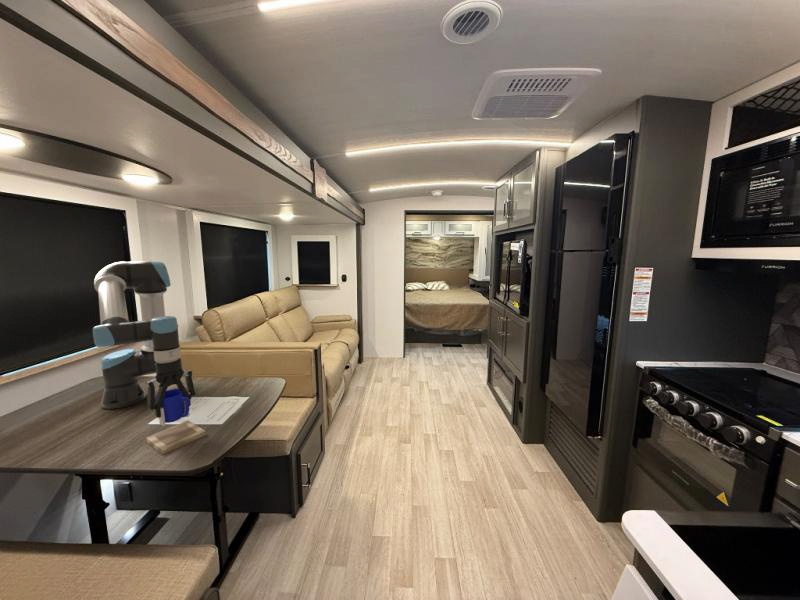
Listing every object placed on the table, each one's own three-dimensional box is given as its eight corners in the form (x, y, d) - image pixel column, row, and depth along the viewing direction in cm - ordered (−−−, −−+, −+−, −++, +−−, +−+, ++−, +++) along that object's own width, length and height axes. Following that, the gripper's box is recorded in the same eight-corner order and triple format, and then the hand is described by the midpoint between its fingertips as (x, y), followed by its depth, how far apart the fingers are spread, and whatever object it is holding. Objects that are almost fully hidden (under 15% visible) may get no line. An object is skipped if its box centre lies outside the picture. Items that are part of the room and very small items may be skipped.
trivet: (146, 441, 113) (145, 437, 113) (188, 423, 124) (188, 420, 124) (162, 454, 105) (162, 450, 105) (206, 434, 117) (205, 430, 117)
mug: (180, 427, 109) (177, 401, 108) (152, 423, 112) (149, 397, 110) (199, 416, 117) (197, 391, 116) (173, 412, 120) (171, 387, 118)
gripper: (137, 370, 100) (145, 436, 104) (203, 354, 117) (208, 411, 120) (129, 366, 104) (137, 429, 108) (193, 351, 121) (198, 406, 124)
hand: (174, 419), depth 114 cm, fingers closed on mug, 7 cm apart
